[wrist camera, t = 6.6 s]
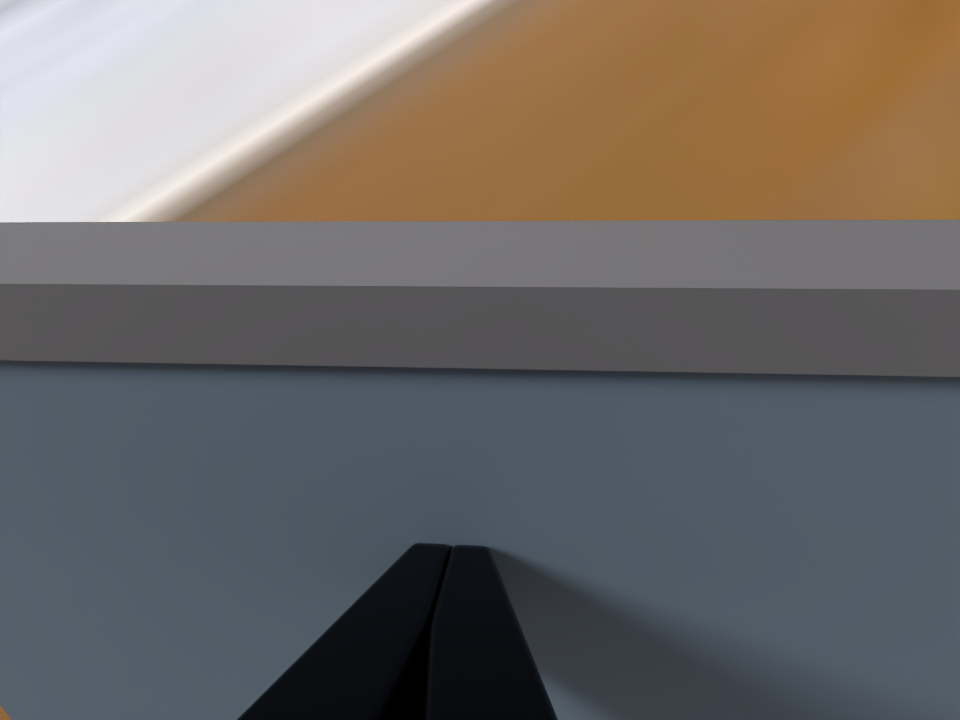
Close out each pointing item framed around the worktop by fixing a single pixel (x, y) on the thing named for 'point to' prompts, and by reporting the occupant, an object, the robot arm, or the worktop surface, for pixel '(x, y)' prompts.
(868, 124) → the worktop surface
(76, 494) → the tailgate
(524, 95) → the worktop surface
